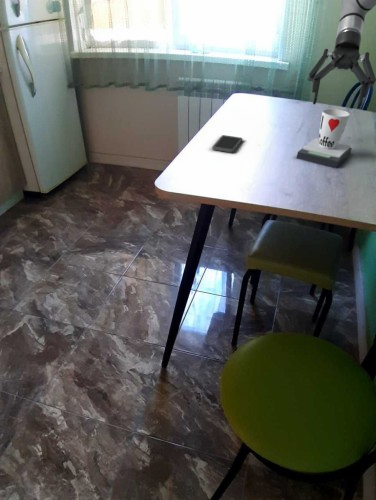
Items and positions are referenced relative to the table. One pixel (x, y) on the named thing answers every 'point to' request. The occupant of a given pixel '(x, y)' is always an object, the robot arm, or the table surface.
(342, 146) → the scale
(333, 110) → the cup
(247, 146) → the table surface
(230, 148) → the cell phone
